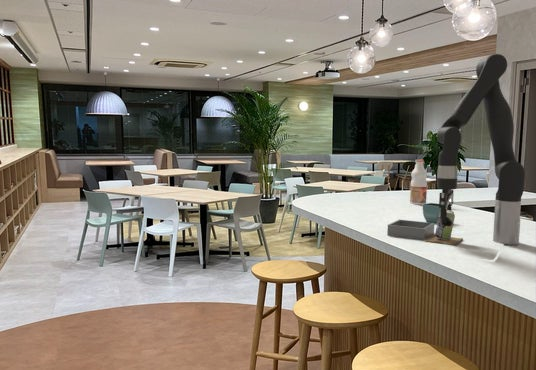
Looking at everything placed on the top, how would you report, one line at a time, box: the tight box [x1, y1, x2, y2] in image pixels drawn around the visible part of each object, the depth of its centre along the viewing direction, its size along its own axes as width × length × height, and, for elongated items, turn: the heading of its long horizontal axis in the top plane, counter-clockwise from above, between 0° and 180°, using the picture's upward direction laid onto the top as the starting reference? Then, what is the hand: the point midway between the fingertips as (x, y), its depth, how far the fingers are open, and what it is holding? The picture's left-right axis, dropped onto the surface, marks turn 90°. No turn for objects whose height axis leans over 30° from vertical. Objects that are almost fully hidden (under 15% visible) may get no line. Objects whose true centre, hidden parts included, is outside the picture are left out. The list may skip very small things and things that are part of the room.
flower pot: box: [421, 202, 444, 224], centre depth 234 cm, size 9×9×9 cm
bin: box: [386, 219, 435, 241], centre depth 206 cm, size 16×16×4 cm
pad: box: [424, 234, 464, 246], centre depth 194 cm, size 12×12×1 cm
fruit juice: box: [409, 159, 428, 206], centre depth 288 cm, size 9×9×28 cm
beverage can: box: [434, 210, 456, 240], centre depth 193 cm, size 6×7×12 cm
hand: (445, 216), depth 193 cm, fingers open, 8 cm apart
